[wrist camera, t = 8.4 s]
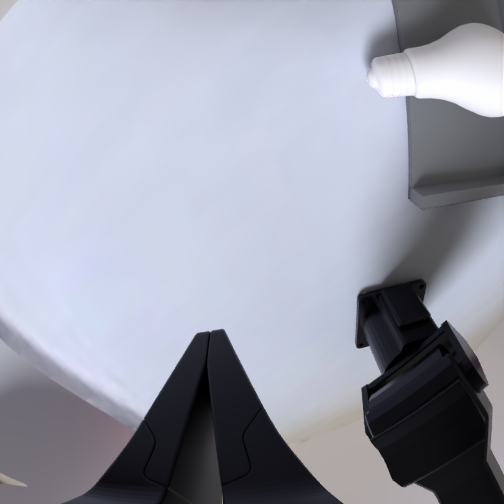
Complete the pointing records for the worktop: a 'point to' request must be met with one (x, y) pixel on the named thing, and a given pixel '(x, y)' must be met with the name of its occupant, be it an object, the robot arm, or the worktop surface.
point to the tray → (449, 114)
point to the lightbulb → (448, 70)
